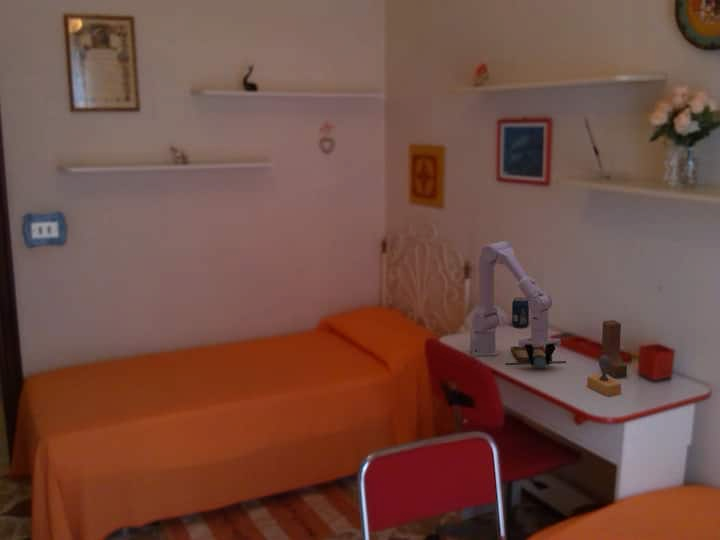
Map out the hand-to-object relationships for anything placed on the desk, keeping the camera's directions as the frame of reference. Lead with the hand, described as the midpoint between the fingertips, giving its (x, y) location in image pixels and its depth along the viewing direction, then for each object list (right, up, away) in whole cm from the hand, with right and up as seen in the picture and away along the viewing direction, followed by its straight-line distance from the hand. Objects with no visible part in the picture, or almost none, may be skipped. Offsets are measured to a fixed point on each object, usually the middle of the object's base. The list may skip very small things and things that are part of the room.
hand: (539, 364), depth 253 cm
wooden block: (+24, -2, -7) cm, 25 cm away
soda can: (+5, +10, +50) cm, 51 cm away
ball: (0, +1, 0) cm, 1 cm away
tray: (0, +1, +13) cm, 13 cm away
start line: (0, 0, +5) cm, 5 cm away
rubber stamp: (+16, -6, -21) cm, 27 cm away
